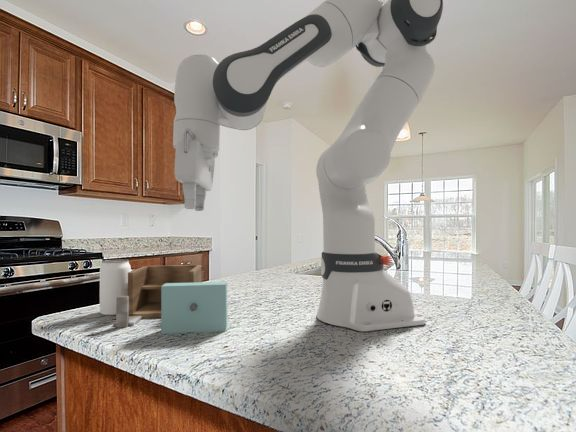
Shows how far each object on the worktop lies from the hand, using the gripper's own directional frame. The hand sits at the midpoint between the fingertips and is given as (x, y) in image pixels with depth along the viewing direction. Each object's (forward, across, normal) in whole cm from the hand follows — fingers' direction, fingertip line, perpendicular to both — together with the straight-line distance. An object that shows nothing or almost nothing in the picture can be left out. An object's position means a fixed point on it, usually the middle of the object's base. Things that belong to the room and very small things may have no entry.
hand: (195, 210), depth 64 cm
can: (+24, +14, +20) cm, 35 cm away
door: (+24, -1, -1) cm, 24 cm away
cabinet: (+24, +11, +8) cm, 27 cm away
